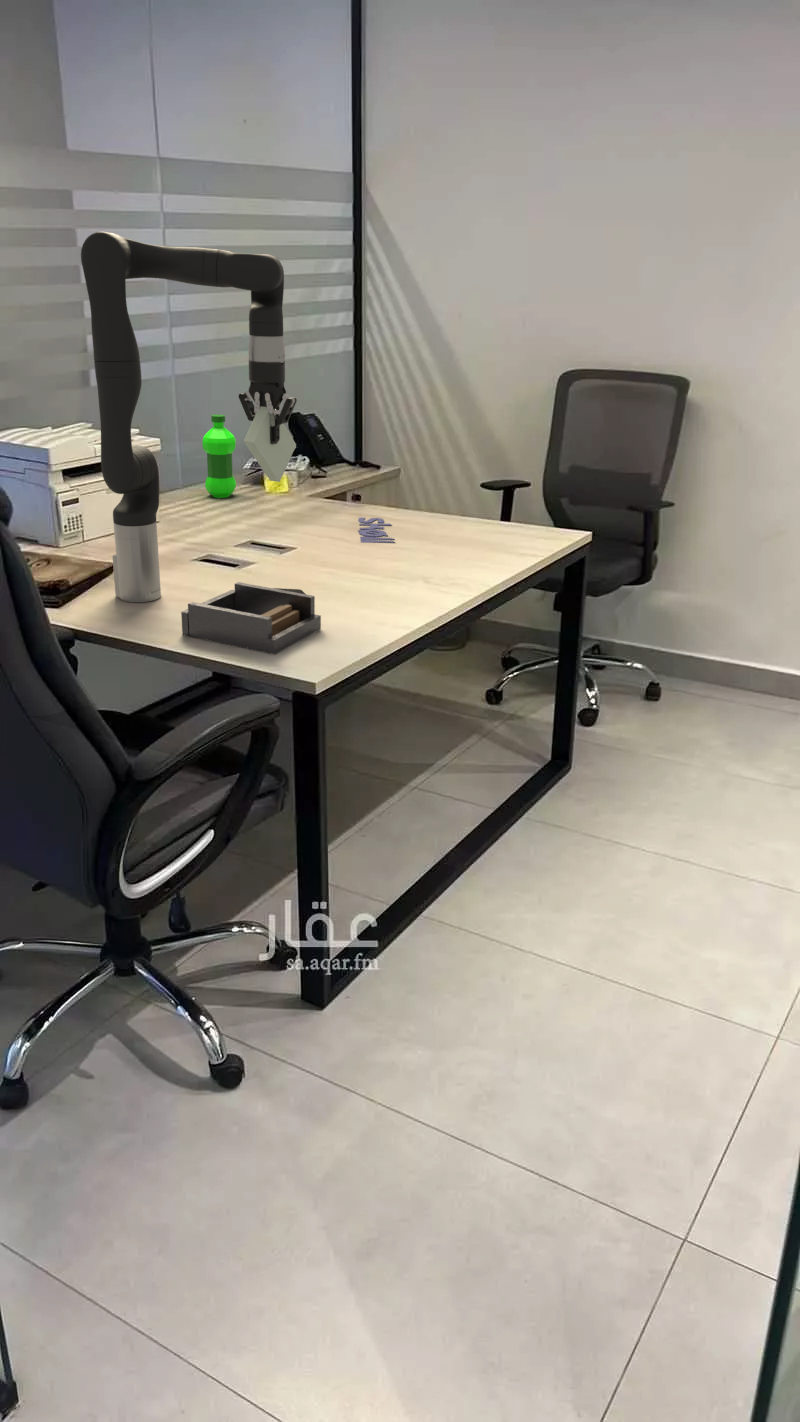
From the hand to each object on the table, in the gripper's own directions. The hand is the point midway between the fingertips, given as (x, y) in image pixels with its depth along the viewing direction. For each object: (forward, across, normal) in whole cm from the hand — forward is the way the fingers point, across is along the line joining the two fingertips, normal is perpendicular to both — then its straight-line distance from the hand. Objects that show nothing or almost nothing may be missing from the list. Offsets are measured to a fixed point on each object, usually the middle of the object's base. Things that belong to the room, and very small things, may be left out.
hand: (268, 442), depth 229 cm
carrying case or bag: (+36, +6, -4) cm, 36 cm away
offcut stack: (+35, +15, -21) cm, 43 cm away
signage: (+36, -10, +71) cm, 80 cm away
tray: (+35, +9, -21) cm, 42 cm away
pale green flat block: (+5, 0, +6) cm, 8 cm away
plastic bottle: (+35, -72, +83) cm, 115 cm away
